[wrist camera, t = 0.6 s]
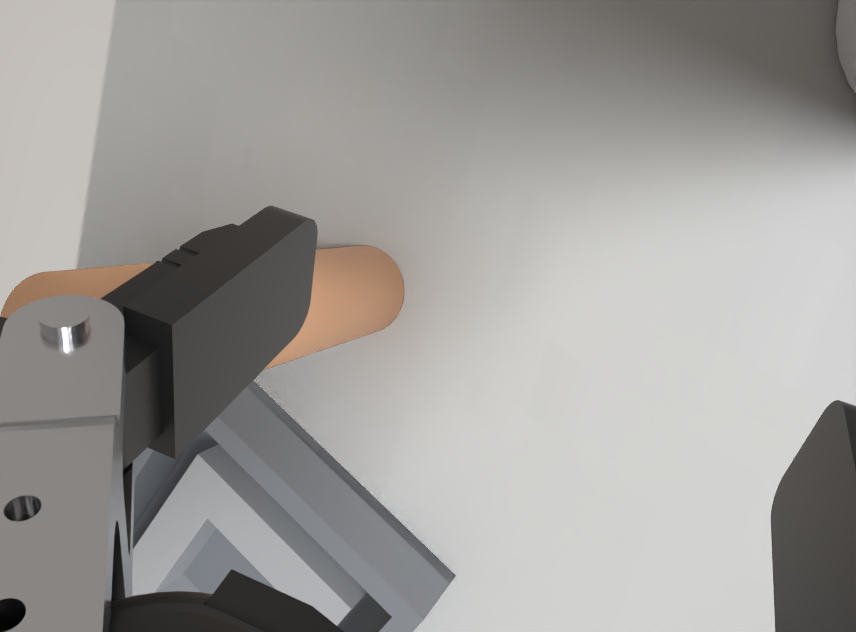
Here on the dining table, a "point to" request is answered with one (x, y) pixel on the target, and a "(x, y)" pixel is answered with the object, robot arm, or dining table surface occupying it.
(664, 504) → the dining table surface
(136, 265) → the peg
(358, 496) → the box
